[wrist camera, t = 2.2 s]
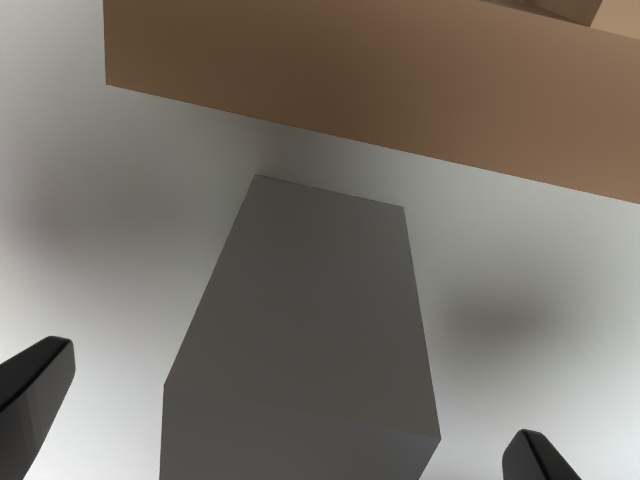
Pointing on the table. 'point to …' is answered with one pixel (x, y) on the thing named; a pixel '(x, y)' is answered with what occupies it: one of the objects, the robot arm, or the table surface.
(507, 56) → the socket board
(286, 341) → the grey upright block
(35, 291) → the table surface
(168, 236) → the table surface
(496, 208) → the table surface
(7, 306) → the table surface
